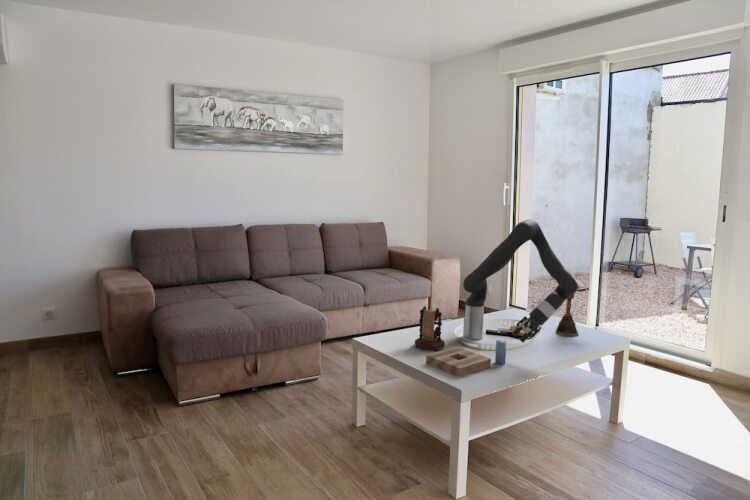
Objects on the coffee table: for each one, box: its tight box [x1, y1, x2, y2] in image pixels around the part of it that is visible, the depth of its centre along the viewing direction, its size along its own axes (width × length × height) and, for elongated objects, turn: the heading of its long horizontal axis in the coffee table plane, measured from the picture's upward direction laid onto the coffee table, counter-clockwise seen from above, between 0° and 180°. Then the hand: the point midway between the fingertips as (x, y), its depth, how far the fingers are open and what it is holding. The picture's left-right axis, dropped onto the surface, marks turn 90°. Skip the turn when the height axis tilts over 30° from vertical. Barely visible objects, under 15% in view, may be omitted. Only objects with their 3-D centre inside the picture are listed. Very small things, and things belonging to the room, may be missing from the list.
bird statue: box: [555, 269, 590, 338], centre depth 277 cm, size 17×13×35 cm
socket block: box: [425, 346, 492, 378], centre depth 230 cm, size 20×20×4 cm
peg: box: [494, 339, 507, 366], centre depth 234 cm, size 4×4×10 cm
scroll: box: [414, 305, 446, 352], centre depth 254 cm, size 15×15×20 cm
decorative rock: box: [508, 325, 534, 335], centre depth 278 cm, size 11×4×15 cm
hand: (517, 338), depth 234 cm, fingers open, 8 cm apart
